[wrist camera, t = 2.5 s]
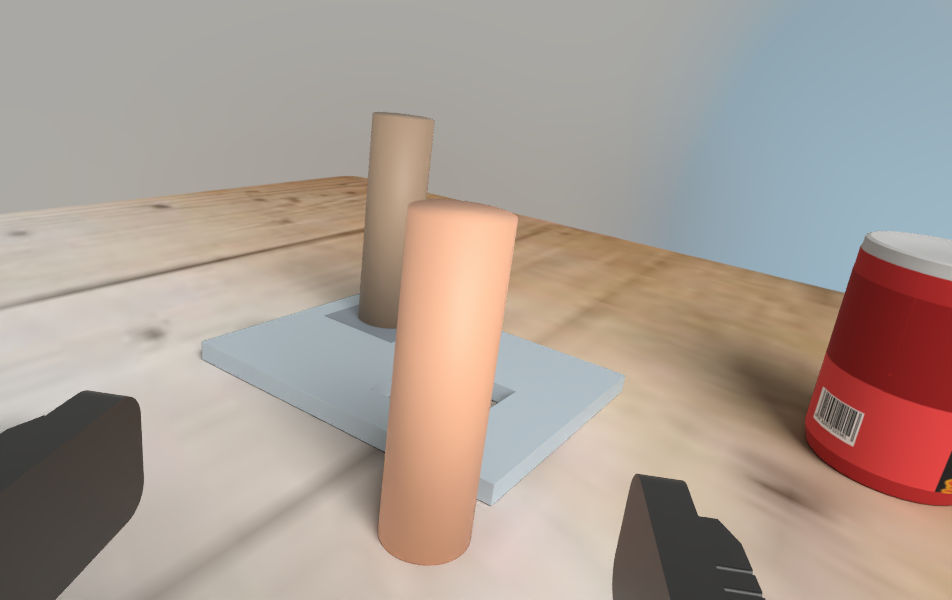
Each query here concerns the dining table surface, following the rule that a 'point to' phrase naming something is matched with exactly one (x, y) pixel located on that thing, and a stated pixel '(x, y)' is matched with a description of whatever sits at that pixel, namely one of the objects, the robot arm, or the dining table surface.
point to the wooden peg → (443, 375)
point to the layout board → (374, 334)
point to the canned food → (891, 372)
